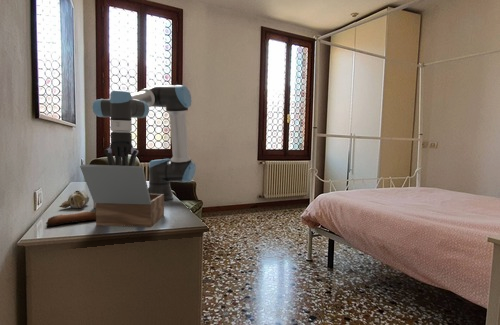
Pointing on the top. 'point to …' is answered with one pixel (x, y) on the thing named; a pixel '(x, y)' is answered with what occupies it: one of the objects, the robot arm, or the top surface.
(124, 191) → the lid
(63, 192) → the top surface
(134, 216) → the walnut box
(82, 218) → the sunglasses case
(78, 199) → the ceramic sculpture
